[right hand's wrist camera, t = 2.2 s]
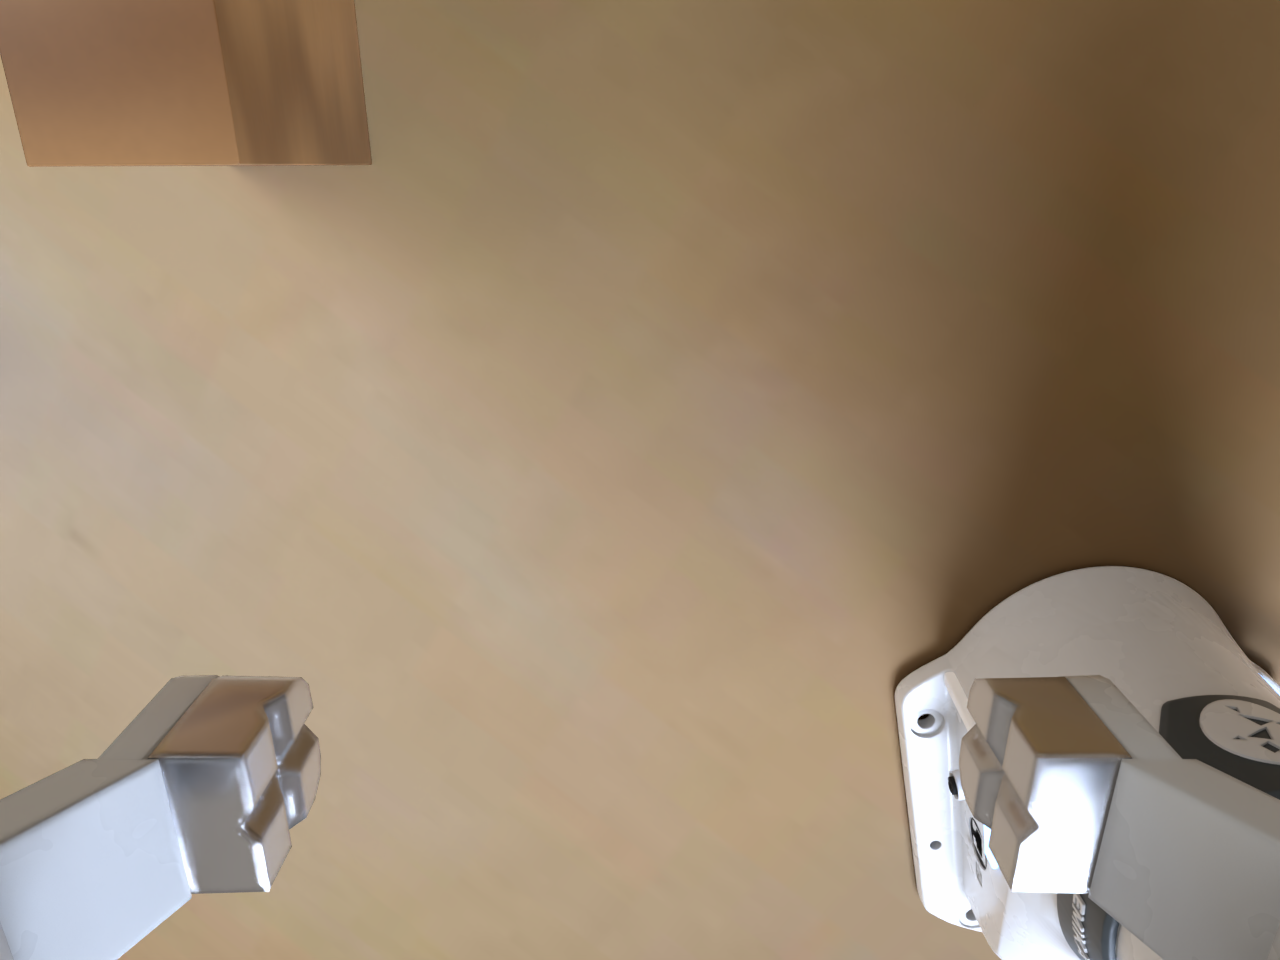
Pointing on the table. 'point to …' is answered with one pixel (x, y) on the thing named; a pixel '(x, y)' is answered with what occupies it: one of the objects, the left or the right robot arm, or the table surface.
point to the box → (185, 82)
